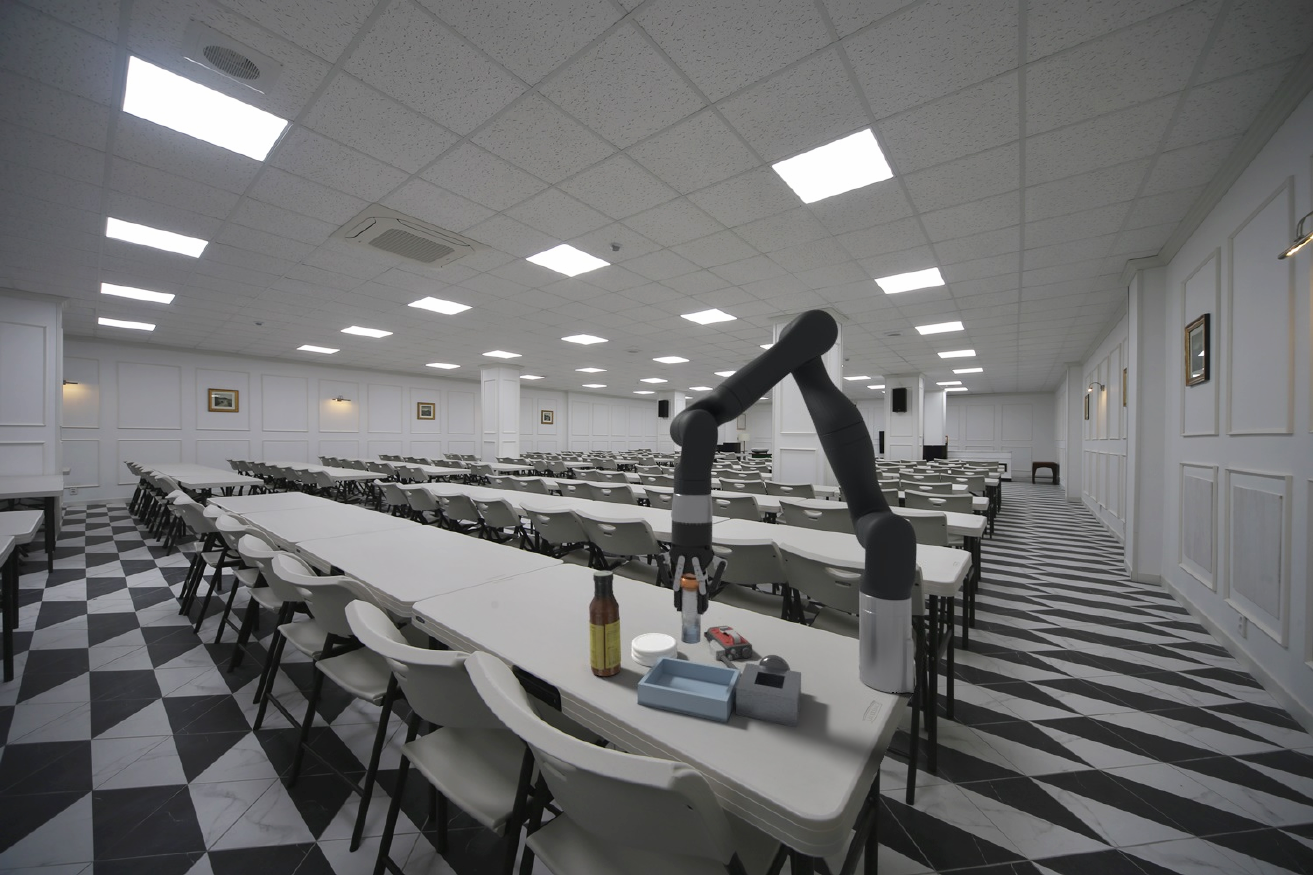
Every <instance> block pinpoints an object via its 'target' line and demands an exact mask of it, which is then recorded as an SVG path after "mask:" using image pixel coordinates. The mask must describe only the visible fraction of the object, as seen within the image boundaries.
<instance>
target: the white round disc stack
mask: <svg viewBox="0 0 1313 875" xmlns="http://www.w3.org/2000/svg"><path fill="white" fill-rule="evenodd" d="M630 645H631V649H630V650H631V659H632V660H633V662H635V663H637V664H639V665H642V666H645V667H650V668H651V667H652V666H653V665H654V664H655V663H656V661H657V660H658V659H659V658H660V657H661V656H663V657H668V658H674V659H678V641H677V640H676V639H675V638H674V637H673V636H671V635H669V634H665V633H658V632H657V633H656V632H654V633H653V632H651V633H649V632H648V633H644V634H641V635H638V636H636V637H634V639H633V640H631V644H630Z"/></svg>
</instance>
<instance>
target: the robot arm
mask: <svg viewBox="0 0 1313 875" xmlns="http://www.w3.org/2000/svg"><path fill="white" fill-rule="evenodd" d="M778 335H779V336H778V341H776V342H775V344H773V345H772V346H771V347H769V348H767V350H765V351H764V352H763V353H760V355H758V356H756V358H754V359H752V361H750V362H748V363H747V364H745V365H743V367H741V368H739V369H738V370H737V371H735V372H734V373H733V374H732V375H730V376H729V377H727V378H726V379H725V380H724V381H722V382H721V383H719V384H718V385H717V386H716V387H715V388H714V389H713V390H712V391H710V392H709V393H708V394H706V395H705V396H703V397H702V398H700V399H698V400H697V401H695V402H693V403H691V404H690V405H689V406H687V407H686V408H684V409H682V411H680V412H679V413H677V415H676V416H675V417H674V418H673V419H672V421H671V423H670V427H669V435H670V438H671V440H672V441H673V443H675V445H677V446H679V447H681V450H680V458H679V462H678V463H676V465H675V467H674V470H673V496H672V501H671V502H672V503H671V512H670V514H671V546H670V548H669V550H668V551H666V552H661V553H659V554H657V555H656V556H655V560H656V564H657V566H658V570H659V573H660V576H661V579H662V582H663V585H664V586H665V587H666V588H667V587H668V588H671V589H672V590H673V606H674V609H676V612H680V613H681V586H680V580H681V578H682V577H683V576H684V575H685V574H693V575H696V580H697V582H699V591H700V594H699V614H700V615H701V616H703V615H704V614H705V612H707V611H708V608H709V602H710V601H709V600H710V598H709V596H710V595H709V594H710V593H715V592H716V591H717V590H718V588H719V587H720V585H721V583H722V580H723V577H724V574H725V572H726V570H727V567H728V565H729V560H728V559H727V558H720V557H719V556H716V555H715V551H714V549H713V515H714V514H713V499H712V484H713V483H712V469H713V465H714V462H715V458H716V453H717V448H718V442H719V429H718V428H719V427H721V426H722V425H724V424H726V423H729V422H732V421H734V420H736V419H737V418H739V417H740V416H741V415H742V414H744V413H745V412H746V411H747V410H749V408H751V407H752V406H753V405H754V404H755V403H757V402H758V401H759V400H760V399H761V398H763V396H765V395H767V393H769V391H770V390H772V389H773V388H774V387H776V386H777V385H778V384H779V383H780V382H781V381H782V380H784V379H785V378H786V377H787V376H788V375H789V374H791V375H792V376H791V377H793V380H794V381H795V383H796V385H797V387H798V390H799V392H800V394H801V397H802V398H803V401H804V403H805V407H806V409H807V411H808V413H809V416H810V418H811V421H812V424H813V426H814V429H815V431H816V434H817V436H818V440H819V442H820V444H821V447H822V449H823V452H824V454H825V457H826V459H827V461H828V463H829V466H830V468H831V470H832V472H833V475H834V477H835V478H836V481H837V482H838V485H839V487H840V489H841V491H842V494H843V496H844V499H845V502H846V505H847V509H848V513H849V516H850V520H851V524H852V527H853V531H854V535H855V538H856V540H857V542H858V543H859V545H860V546H861V548H863V549H864V556H865V557H864V570H863V574H861V575H860V577H859V583H858V584H859V585H858V586H859V589H858V590H859V593H858V594H859V596H858V597H859V598H858V599H859V601H858V602H859V606H858V607H859V609H858V610H859V614H858V615H859V616H858V617H859V618H858V619H859V624H858V626H859V628H858V629H859V630H858V631H859V636H858V637H859V656H858V657H859V658H858V659H859V660H858V661H859V665H858V671H859V679H860V681H861V682H862V683H864V684H865V685H867V686H868V687H870V688H872V689H874V690H877V691H880V692H885V693H891V694H901V693H902V694H903V693H915V685H914V684H915V682H914V681H915V679H914V675H915V671H914V669H915V668H914V667H915V666H914V665H915V664H914V662H915V659H914V658H915V656H914V655H915V654H914V650H915V649H914V643H915V642H914V639H913V638H912V590H913V587H914V584H915V583H916V575H917V572H916V571H917V555H918V554H917V550H918V549H917V535H916V531H915V528H914V526H913V525H912V523H911V522H910V521H909V520H908V519H906V518H905V517H903V516H901V514H900V515H899V514H897V513H895V512H893V511H892V508H891V507H890V505H889V503H888V501H887V499H886V497H885V495H884V492H883V491H882V488H881V486H880V482H879V479H878V474H877V464H876V455H875V449H874V444H873V441H872V437H871V434H870V432H869V428H868V427H867V425H866V422H865V420H864V417H863V415H862V413H861V411H860V409H858V407H857V406H856V405H855V404H854V403H853V402H852V400H851V399H850V398H849V397H847V395H846V394H844V393H843V392H842V391H841V389H840V388H838V387H837V386H836V384H835V383H834V382H833V381H832V379H831V378H830V375H829V373H828V372H827V368H826V366H825V364H824V361H823V357H822V356H823V355H825V354H826V353H828V352H829V351H830V350H831V349H832V348H833V347H834V345H835V344H836V342H837V340H838V336H839V328H838V324H837V321H836V319H835V318H834V317H833V316H832V315H831V314H830V313H829V312H827V311H824V310H821V309H810V310H808V311H804V312H802V313H801V314H799V315H798V316H796V317H794V319H792V321H790V322H788V323H787V324H786V325H785V326H784V327H783V328H782V329H781V331H780V333H779V334H778ZM671 560H672V562H673V564H674V565H675V567H676V569H675V570H676V571H675V574H674V576H673V573H672V570H671V567H670V563H671ZM711 563H713V569H714V570H715V573H714V575H713V578H712V579H711V580H712V581H711V582H710V583H709V579H708V577H709V576H708V570H707V568H708V567H709V566H710V564H711ZM892 692H894V693H892ZM896 692H897V693H896Z"/></svg>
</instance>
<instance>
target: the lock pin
mask: <svg viewBox="0 0 1313 875" xmlns="http://www.w3.org/2000/svg"><path fill="white" fill-rule="evenodd" d="M680 586H681V612H680V641H681V642H682V643H685V644H688V645H690V644H691V645H694V644H698V643H699V644H700V642H701V633H702V632H701V629H702V627H701V626H702V625H701V624H702V623H701V621H702V619H701V618H702V617H701V616H702V615H700V614H699V594H700V591H699V582H697V580H696V575H693V574H691V573H688V574H685V575H684V576H683V577H682V578H681V580H680Z"/></svg>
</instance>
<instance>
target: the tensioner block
mask: <svg viewBox="0 0 1313 875" xmlns="http://www.w3.org/2000/svg"><path fill="white" fill-rule="evenodd" d="M745 663H746V662H745ZM801 700H802V672H801V671H795V670H791V667H790V665H789V664H788V662H787V661H786V660H785V659H784V657H783V658H782V657H781V656H779V655H776V654H769V655H768V654H767V655H766V656H764V657H762V659H761V660H760V661H759V663H758V664H753V663H748V662H747V663H746V664H745V666H744V668H743V670H742V673H741V674H740V680H739V683H738V685H737V688H736V700H735V707H736V708H735V709H736V710H735V713H736V714H735V715H736V716H741V717H746V718H751V719H755V720H761V721H765V722H769V723H770V722H771V723H775V724H780V725H785V726H790V727H793V728H798V724H799V717H800V709H801V703H802V702H801Z"/></svg>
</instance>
